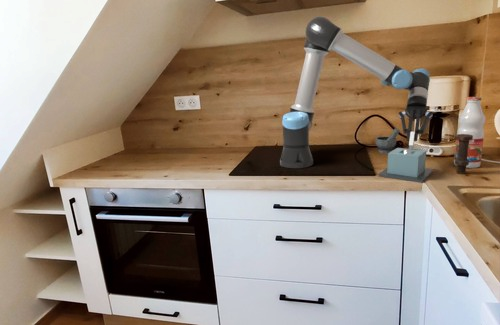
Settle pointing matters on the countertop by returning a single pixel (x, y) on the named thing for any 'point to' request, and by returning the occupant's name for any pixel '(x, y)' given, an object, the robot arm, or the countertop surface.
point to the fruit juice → (472, 131)
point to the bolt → (462, 153)
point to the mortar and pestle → (387, 142)
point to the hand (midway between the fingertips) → (411, 147)
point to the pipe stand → (420, 178)
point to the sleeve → (406, 162)
